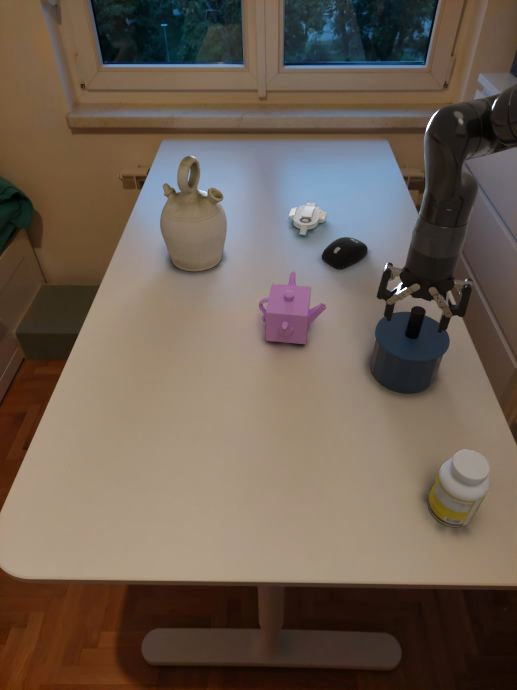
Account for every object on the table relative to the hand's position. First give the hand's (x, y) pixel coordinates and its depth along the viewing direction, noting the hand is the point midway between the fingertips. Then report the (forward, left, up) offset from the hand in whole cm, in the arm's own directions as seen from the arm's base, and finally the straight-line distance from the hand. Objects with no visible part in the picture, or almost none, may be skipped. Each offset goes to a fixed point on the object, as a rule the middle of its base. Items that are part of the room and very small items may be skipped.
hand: (414, 323), depth 87 cm
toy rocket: (+33, -47, -12) cm, 59 cm away
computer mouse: (+19, -34, -12) cm, 41 cm away
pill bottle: (-11, +26, -12) cm, 31 cm away
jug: (+53, -21, -12) cm, 58 cm away
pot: (0, 0, -12) cm, 12 cm away
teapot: (+23, -3, -12) cm, 26 cm away
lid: (0, 0, -3) cm, 3 cm away
